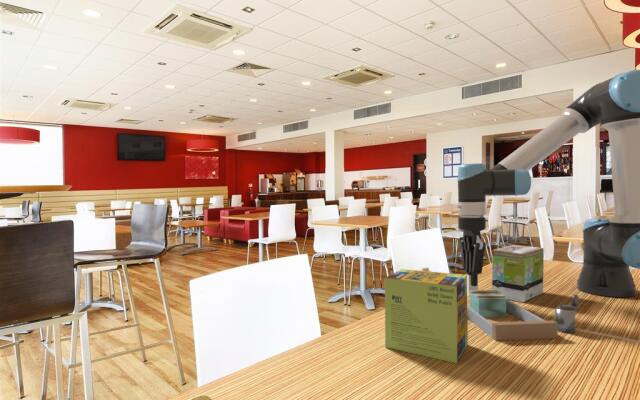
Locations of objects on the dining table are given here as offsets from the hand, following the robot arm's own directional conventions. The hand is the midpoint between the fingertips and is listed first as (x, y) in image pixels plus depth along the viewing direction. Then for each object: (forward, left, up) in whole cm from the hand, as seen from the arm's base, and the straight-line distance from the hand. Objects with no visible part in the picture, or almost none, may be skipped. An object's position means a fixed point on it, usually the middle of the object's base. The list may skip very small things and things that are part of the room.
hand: (472, 295), depth 113 cm
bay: (0, +16, -2) cm, 16 cm away
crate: (0, +9, -2) cm, 9 cm away
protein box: (+23, +29, -2) cm, 37 cm away
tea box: (-17, -6, -2) cm, 18 cm away
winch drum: (-12, +23, -2) cm, 26 cm away
